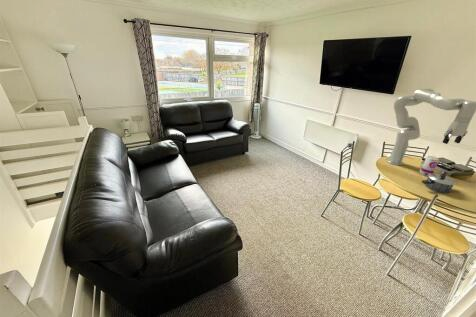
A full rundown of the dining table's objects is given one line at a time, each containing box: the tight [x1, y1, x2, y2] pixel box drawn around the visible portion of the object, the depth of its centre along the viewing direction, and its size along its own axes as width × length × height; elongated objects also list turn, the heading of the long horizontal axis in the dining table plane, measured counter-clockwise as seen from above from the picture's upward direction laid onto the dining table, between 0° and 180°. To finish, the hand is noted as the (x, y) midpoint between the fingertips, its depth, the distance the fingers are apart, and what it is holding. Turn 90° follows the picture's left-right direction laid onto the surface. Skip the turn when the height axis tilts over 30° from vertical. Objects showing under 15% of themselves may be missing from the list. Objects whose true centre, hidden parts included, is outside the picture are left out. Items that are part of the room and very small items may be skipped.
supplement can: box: [419, 155, 440, 177], centre depth 168 cm, size 8×8×15 cm
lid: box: [427, 170, 457, 186], centre depth 149 cm, size 15×15×6 cm
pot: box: [421, 177, 454, 194], centre depth 152 cm, size 14×23×7 cm, turn 97°
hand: (450, 142), depth 148 cm, fingers open, 9 cm apart
